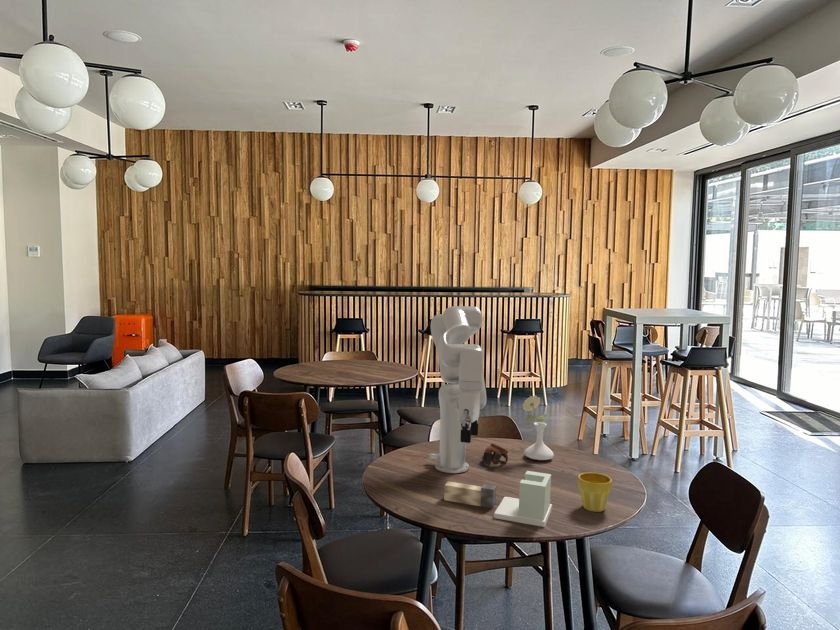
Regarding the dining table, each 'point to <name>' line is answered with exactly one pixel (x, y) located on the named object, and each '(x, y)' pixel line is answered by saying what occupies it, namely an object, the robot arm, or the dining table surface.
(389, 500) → the dining table surface
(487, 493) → the rail
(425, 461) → the dining table surface
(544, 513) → the slotted block on base
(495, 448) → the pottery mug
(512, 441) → the dining table surface
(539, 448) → the flower in vase
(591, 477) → the plant pot
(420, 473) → the dining table surface
